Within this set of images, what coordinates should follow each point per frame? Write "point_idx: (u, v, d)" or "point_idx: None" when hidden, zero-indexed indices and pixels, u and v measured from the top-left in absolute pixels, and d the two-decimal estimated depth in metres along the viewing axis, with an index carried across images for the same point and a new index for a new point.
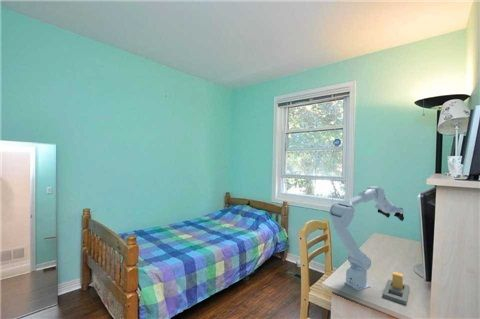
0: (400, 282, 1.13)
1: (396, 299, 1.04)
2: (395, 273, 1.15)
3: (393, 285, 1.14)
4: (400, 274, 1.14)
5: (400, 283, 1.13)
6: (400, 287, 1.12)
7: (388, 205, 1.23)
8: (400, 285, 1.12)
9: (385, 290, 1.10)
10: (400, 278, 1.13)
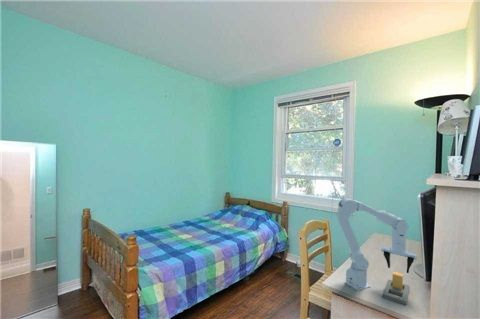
0: (400, 282, 1.13)
1: (396, 299, 1.04)
2: (395, 273, 1.15)
3: (393, 285, 1.14)
4: (400, 274, 1.14)
5: (400, 283, 1.13)
6: (400, 287, 1.12)
7: (405, 245, 1.13)
8: (400, 285, 1.12)
9: (385, 290, 1.10)
10: (400, 278, 1.13)
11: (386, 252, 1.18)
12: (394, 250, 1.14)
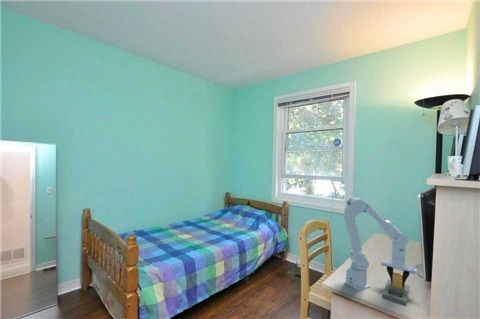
0: (400, 282, 1.13)
1: (396, 299, 1.04)
2: (395, 273, 1.15)
3: (393, 285, 1.14)
4: (400, 274, 1.14)
5: (400, 283, 1.12)
6: (400, 287, 1.12)
7: (404, 260, 1.13)
8: (400, 285, 1.12)
9: (385, 290, 1.10)
10: (400, 278, 1.13)
11: None
12: (394, 264, 1.14)
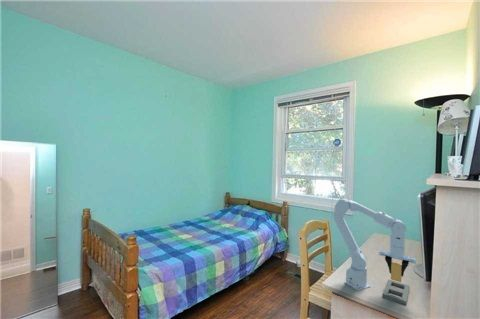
0: (399, 272, 1.08)
1: (396, 299, 1.04)
2: (394, 263, 1.11)
3: (392, 275, 1.10)
4: (399, 264, 1.10)
5: (399, 273, 1.08)
6: (399, 277, 1.08)
7: (403, 248, 1.08)
8: (399, 275, 1.08)
9: (385, 290, 1.10)
10: (399, 268, 1.08)
11: None
12: (392, 254, 1.10)
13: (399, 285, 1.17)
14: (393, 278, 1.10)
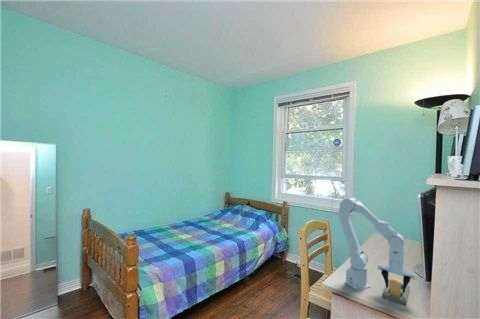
0: (398, 289, 1.06)
1: (396, 299, 1.04)
2: (393, 280, 1.09)
3: (390, 292, 1.08)
4: (398, 281, 1.08)
5: (398, 290, 1.06)
6: (398, 295, 1.06)
7: (402, 263, 1.06)
8: (398, 292, 1.06)
9: (385, 290, 1.10)
10: (398, 285, 1.06)
11: (383, 270, 1.11)
12: (391, 268, 1.07)
13: None
14: None
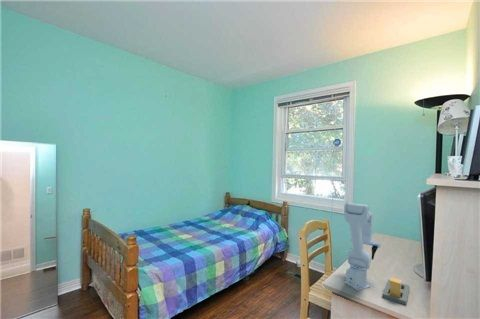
0: (398, 289, 1.06)
1: (396, 299, 1.04)
2: (393, 280, 1.09)
3: (390, 292, 1.08)
4: (398, 281, 1.08)
5: (398, 290, 1.06)
6: (398, 295, 1.06)
7: (370, 235, 1.28)
8: (398, 292, 1.06)
9: (385, 290, 1.10)
10: (398, 285, 1.06)
11: None
12: None
13: None
14: None
